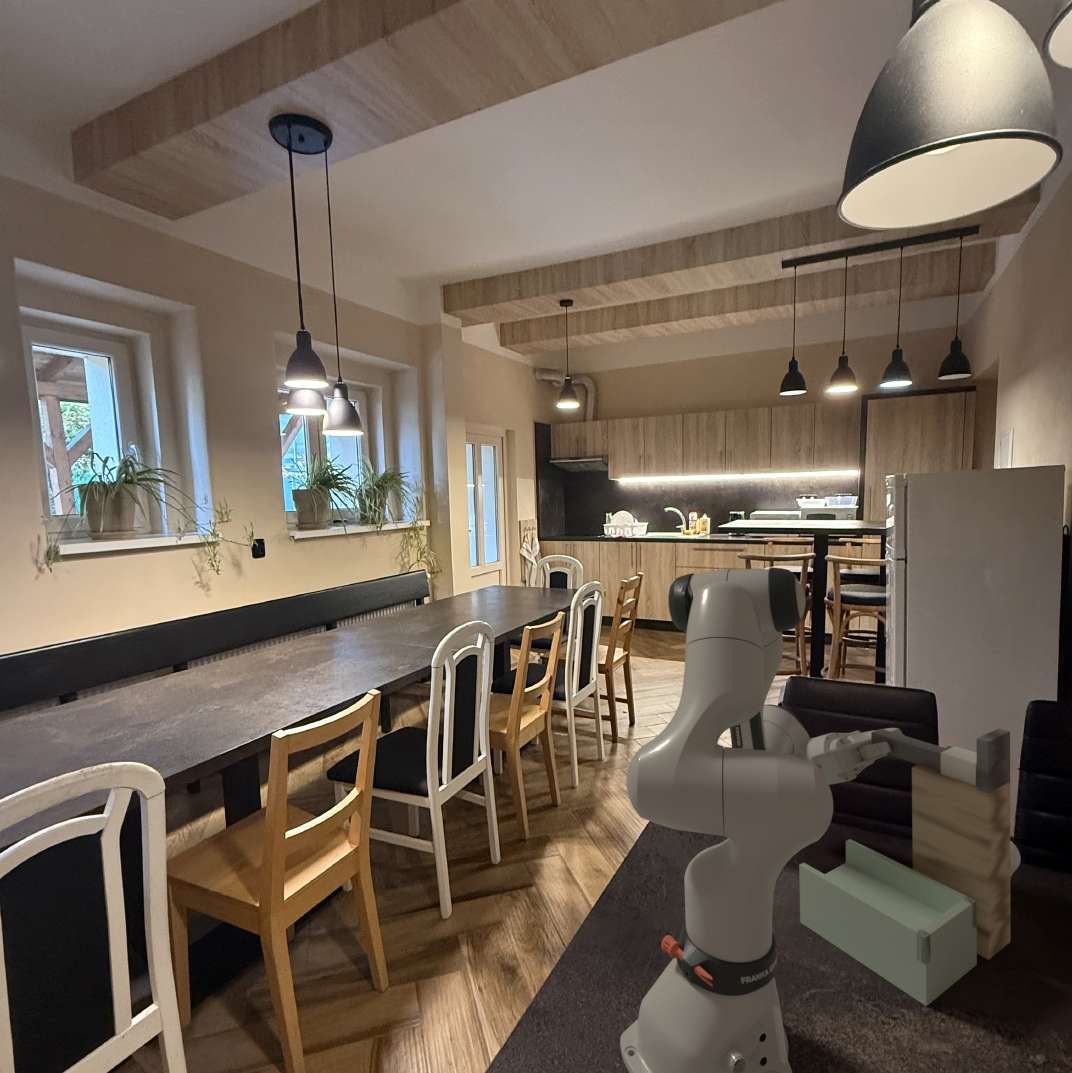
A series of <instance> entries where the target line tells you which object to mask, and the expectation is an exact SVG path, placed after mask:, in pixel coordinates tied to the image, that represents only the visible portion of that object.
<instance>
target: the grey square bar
mask: <svg viewBox="0 0 1072 1073" xmlns="http://www.w3.org/2000/svg"><path fill="white" fill-rule="evenodd" d="M884 729H885V728H879V729H876V731H874V730H872V731H873V732H871V744H876V743H880V742H883V741H887V740H889V741H890V742H891V743H892V746H893V747H894V750H893V751H891V752H889V753H886V754H888V755H889V756H891V757H895V758H898V759H901V760H905V761H907V762H909V763H913V764H916V765H918V764H919V765H922V766H924V767H927V768H930V769H933V770H936V771H938V772H941V774H942V775H945V776H948V777H951V778H954V779H957V780H960V781H963V782H966V783H969V784H972V785H975V786H977V751H972V750H970V749H966V748H963V747H959V746H954V745H953V746H950V745H947V746H946V747H943V746H940V745H936V744H934V743H930V742H926V741H923V740H920V739H916V738H913V737H910V736H906V735H904V734H903V735H900V734H897V733H894V732H890V731H887V730H884Z"/></svg>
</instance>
